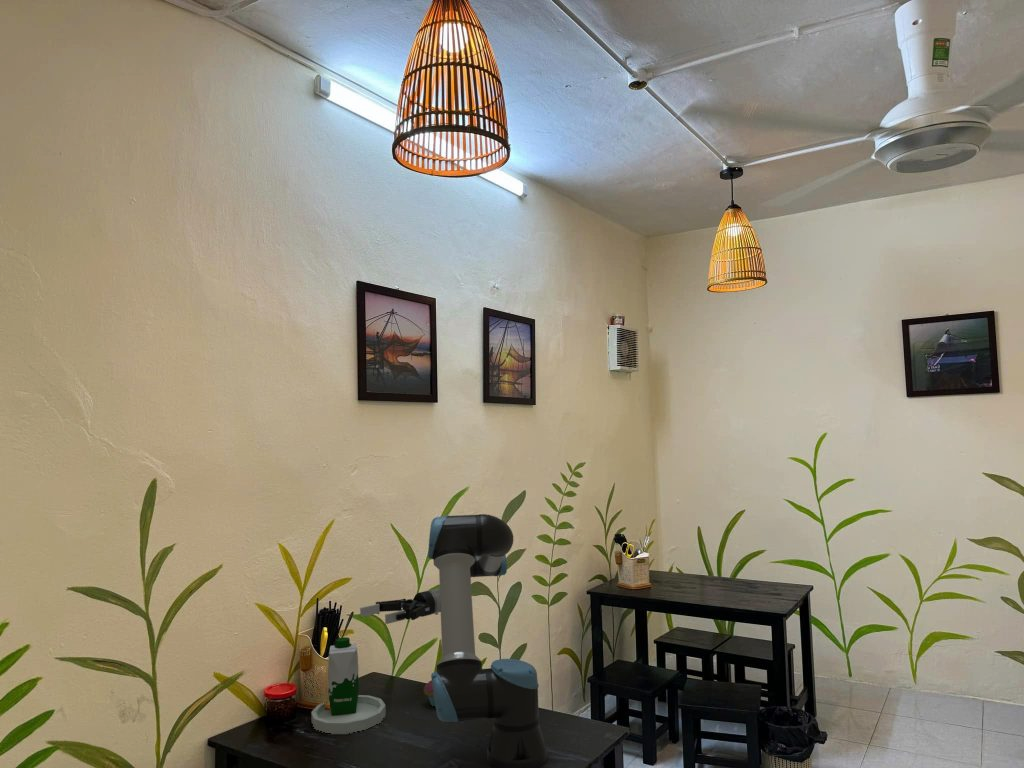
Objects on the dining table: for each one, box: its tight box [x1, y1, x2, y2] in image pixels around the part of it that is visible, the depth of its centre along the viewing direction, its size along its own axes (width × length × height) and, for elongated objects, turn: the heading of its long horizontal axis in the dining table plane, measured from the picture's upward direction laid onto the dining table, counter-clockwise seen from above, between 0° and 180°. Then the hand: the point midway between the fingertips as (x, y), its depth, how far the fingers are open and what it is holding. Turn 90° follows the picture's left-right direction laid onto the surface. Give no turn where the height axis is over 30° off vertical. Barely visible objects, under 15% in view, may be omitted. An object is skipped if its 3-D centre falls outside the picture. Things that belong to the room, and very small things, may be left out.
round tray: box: [310, 694, 387, 735], centre depth 207 cm, size 20×20×3 cm
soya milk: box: [327, 636, 360, 716], centre depth 211 cm, size 9×9×20 cm
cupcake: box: [423, 679, 435, 707], centre depth 216 cm, size 9×8×12 cm
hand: (373, 615), depth 215 cm, fingers open, 13 cm apart
